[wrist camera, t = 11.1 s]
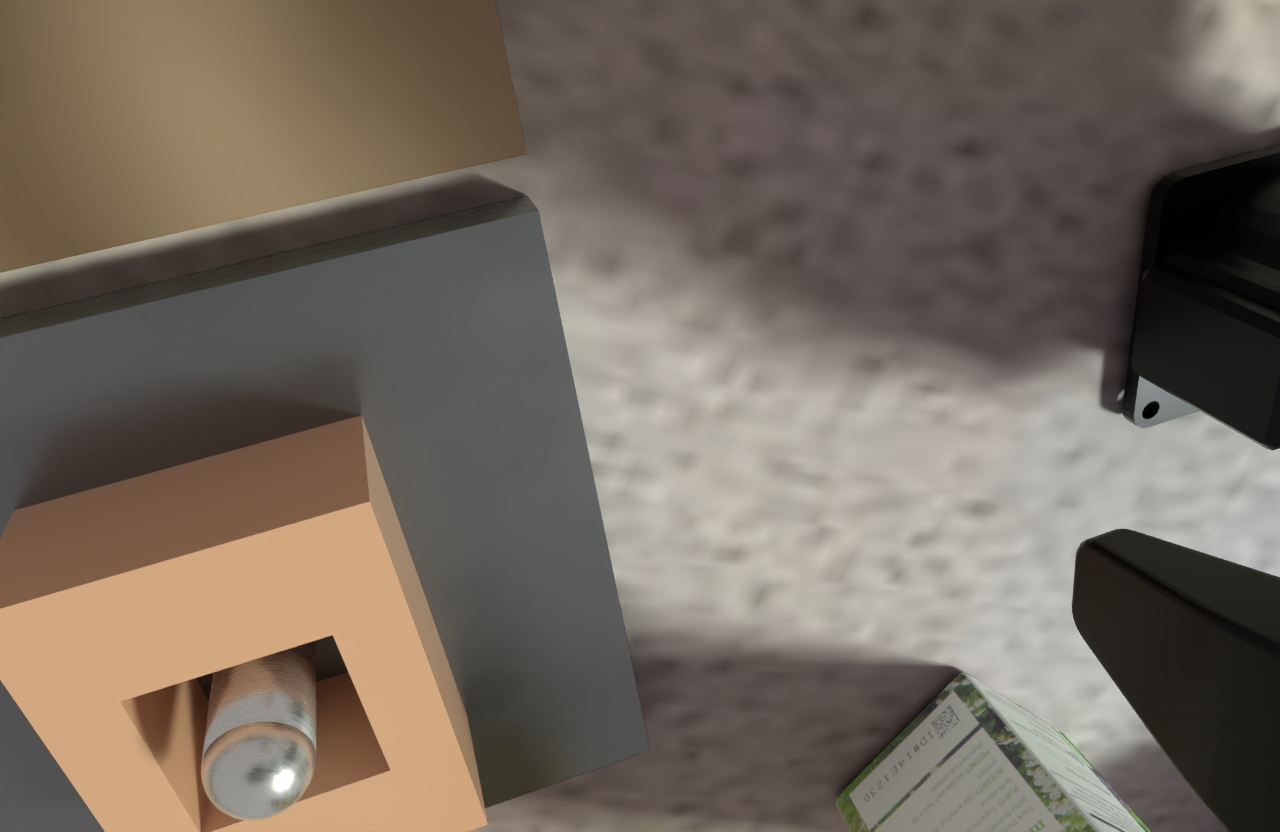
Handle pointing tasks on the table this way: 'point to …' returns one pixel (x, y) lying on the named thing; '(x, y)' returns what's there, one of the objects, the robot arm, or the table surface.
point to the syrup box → (982, 774)
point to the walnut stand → (232, 110)
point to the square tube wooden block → (235, 637)
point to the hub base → (410, 464)
